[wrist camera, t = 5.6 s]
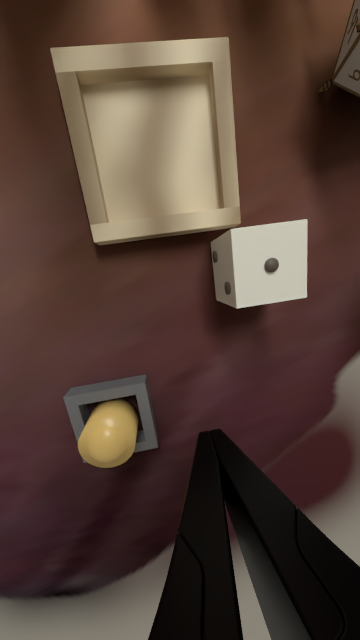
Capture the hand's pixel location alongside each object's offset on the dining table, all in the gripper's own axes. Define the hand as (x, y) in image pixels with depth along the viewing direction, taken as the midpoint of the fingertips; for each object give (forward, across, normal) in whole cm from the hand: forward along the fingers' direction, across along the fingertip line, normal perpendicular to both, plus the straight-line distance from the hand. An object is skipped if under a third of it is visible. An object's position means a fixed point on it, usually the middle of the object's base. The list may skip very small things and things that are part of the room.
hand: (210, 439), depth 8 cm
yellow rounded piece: (+10, +8, +6) cm, 14 cm away
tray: (+11, 0, -15) cm, 19 cm away
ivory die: (+12, -6, -6) cm, 14 cm away
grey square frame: (+11, +8, +6) cm, 15 cm away
